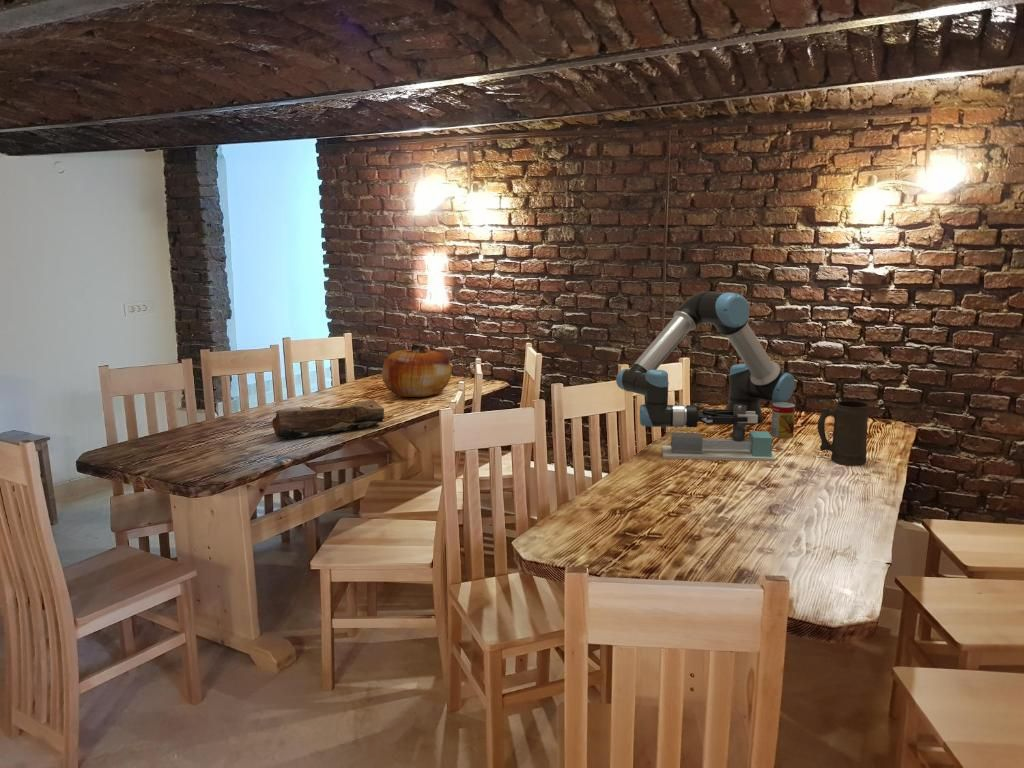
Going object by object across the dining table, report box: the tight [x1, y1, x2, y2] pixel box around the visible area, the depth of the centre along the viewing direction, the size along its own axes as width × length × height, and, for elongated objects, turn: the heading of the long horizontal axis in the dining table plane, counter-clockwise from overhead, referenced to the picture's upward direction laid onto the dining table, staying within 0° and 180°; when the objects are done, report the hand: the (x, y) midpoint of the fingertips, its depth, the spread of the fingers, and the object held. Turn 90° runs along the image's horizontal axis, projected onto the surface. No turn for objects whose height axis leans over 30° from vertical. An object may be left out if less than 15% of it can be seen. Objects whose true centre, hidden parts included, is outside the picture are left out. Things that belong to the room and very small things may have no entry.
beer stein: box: [817, 400, 870, 467], centre depth 242 cm, size 15×11×20 cm
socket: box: [749, 430, 773, 457], centre depth 251 cm, size 6×8×6 cm
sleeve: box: [670, 431, 703, 454], centre depth 254 cm, size 10×6×6 cm, turn 81°
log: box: [271, 398, 385, 440], centre depth 293 cm, size 42×18×15 cm, turn 118°
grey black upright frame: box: [702, 404, 753, 450], centre depth 251 cm, size 21×4×15 cm, turn 81°
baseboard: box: [661, 445, 777, 463], centre depth 254 cm, size 36×12×1 cm, turn 81°
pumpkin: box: [381, 343, 453, 398], centre depth 355 cm, size 33×33×25 cm
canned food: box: [770, 401, 796, 440], centre depth 274 cm, size 8×8×12 cm
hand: (756, 417), depth 249 cm, fingers closed on grey black upright frame, 4 cm apart
